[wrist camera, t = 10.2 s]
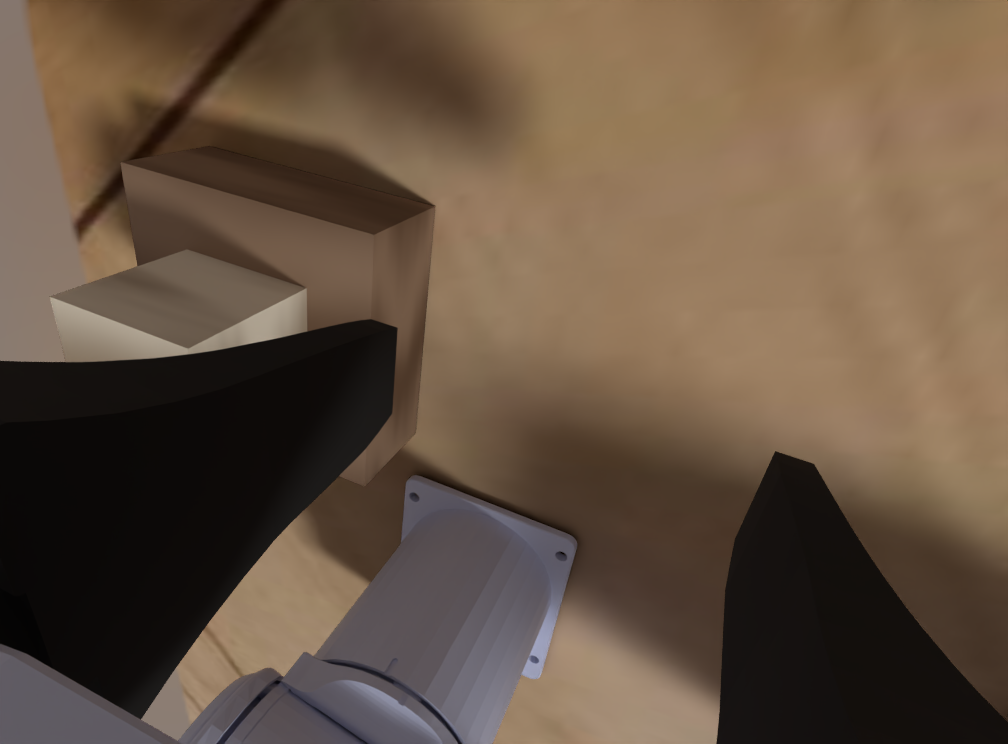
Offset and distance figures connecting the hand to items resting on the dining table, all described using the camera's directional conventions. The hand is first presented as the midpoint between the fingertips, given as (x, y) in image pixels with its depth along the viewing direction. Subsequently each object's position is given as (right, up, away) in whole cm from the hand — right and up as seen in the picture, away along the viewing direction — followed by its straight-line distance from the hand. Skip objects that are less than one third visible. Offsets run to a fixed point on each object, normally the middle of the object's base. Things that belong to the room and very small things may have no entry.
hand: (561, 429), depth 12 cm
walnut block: (-9, +4, +14) cm, 17 cm away
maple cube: (-10, +3, +11) cm, 15 cm away
